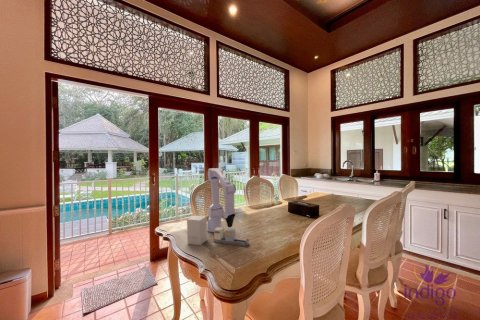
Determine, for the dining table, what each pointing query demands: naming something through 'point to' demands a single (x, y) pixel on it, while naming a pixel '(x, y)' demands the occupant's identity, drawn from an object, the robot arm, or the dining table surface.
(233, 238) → the block
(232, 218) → the robot arm
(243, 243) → the rail
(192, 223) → the supplement box
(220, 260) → the dining table surface
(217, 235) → the beige rectangular block
